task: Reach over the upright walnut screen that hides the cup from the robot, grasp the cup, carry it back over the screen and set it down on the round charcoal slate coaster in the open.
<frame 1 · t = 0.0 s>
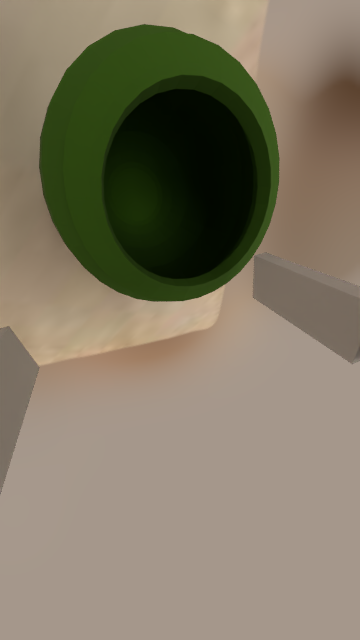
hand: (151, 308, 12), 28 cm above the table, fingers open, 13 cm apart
vase: (134, 195, 33), on the table
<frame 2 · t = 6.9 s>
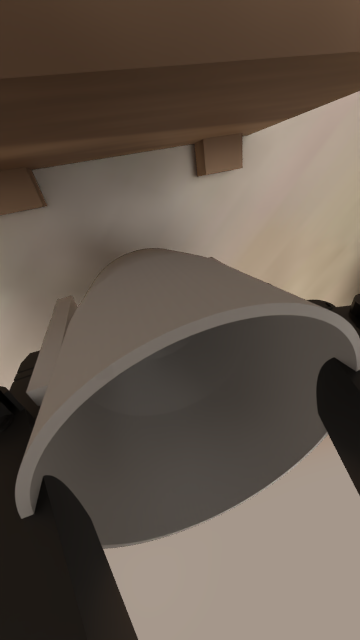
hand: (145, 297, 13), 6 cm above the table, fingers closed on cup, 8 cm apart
cup: (143, 292, 13), point 6 cm above the table, touching gripper
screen: (114, 136, 14), on the table
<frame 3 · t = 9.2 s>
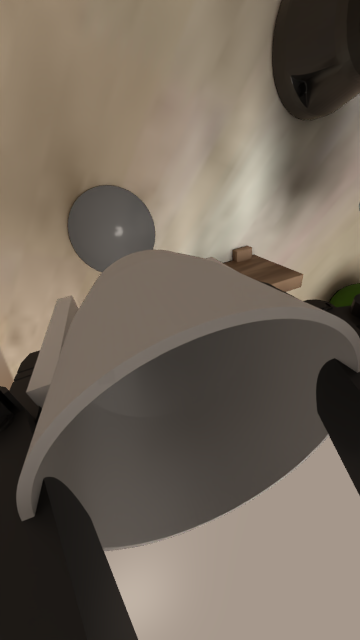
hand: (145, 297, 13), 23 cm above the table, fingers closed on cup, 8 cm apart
cup: (144, 293, 13), point 22 cm above the table, touching gripper
coaster: (114, 233, 32), on the table
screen: (206, 273, 40), on the table
vase: (338, 300, 57), on the table
when the fingers open (2 cm above the table, at t = 12.0 s): cup drops 1 cm, resting on coaster.
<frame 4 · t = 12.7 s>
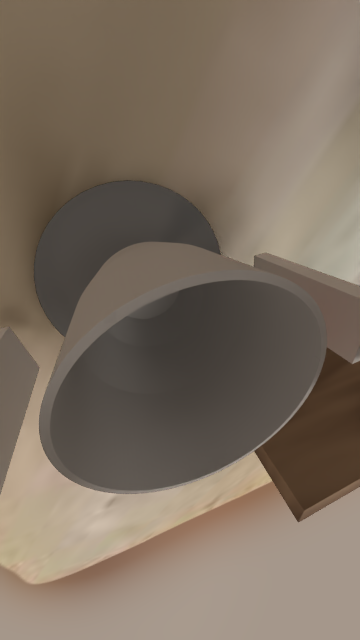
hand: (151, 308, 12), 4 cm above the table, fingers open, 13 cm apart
cup: (143, 284, 14), resting on coaster
coaster: (139, 284, 15), on the table
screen: (290, 333, 23), on the table
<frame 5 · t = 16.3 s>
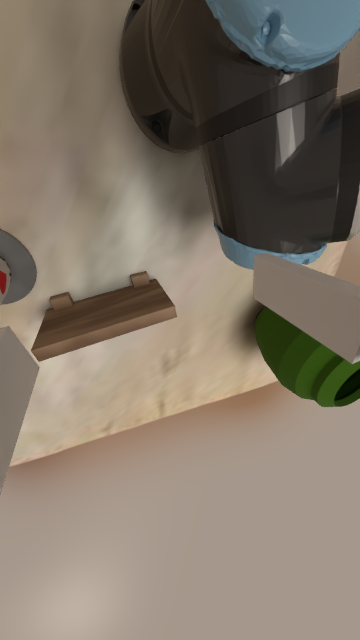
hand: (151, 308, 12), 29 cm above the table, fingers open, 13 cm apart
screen: (106, 298, 40), on the table
vase: (267, 317, 57), on the table
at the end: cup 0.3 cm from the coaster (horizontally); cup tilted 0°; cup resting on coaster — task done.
